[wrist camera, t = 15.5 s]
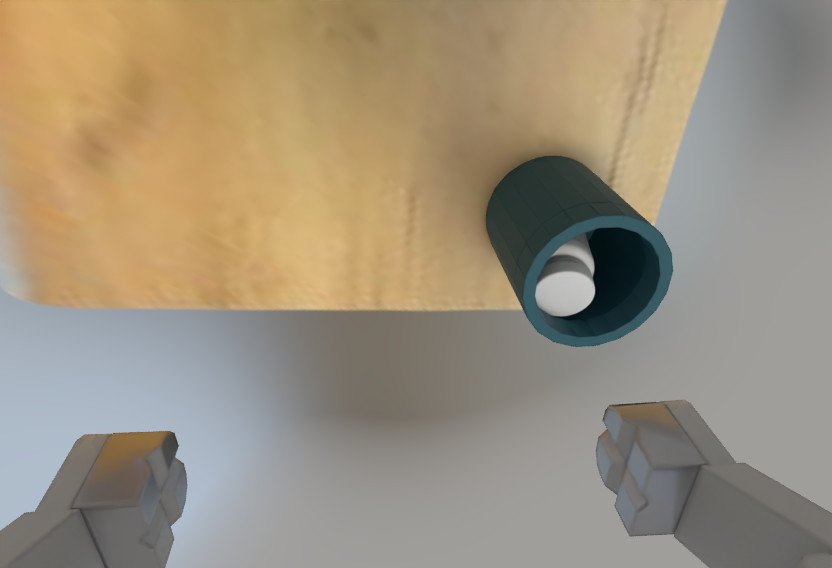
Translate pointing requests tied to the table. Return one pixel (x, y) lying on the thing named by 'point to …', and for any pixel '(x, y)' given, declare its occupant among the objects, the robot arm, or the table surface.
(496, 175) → the table surface
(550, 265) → the pill bottle
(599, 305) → the jar
